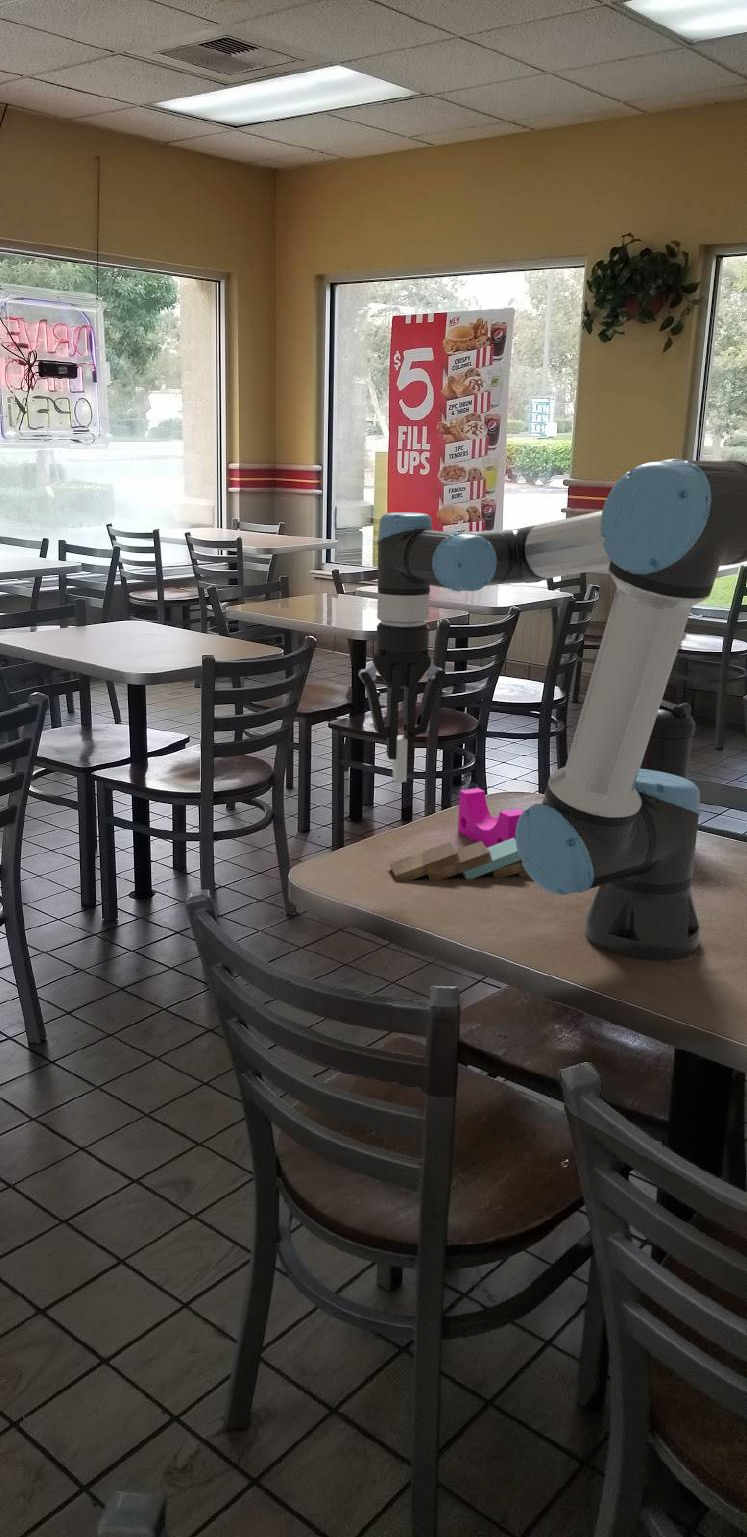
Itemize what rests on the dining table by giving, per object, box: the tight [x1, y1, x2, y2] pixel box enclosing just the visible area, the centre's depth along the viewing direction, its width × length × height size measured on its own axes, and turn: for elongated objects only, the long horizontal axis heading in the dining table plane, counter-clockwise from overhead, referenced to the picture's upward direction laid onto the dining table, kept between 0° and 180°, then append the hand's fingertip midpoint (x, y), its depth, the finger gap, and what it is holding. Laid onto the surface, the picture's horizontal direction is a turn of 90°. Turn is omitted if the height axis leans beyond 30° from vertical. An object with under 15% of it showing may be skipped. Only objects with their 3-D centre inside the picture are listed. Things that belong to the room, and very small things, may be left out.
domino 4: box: [489, 860, 526, 879], centre depth 188 cm, size 2×5×10 cm
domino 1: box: [389, 841, 460, 881], centre depth 185 cm, size 2×5×10 cm
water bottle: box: [640, 699, 696, 779], centre depth 206 cm, size 10×10×23 cm
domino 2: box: [426, 841, 492, 881], centre depth 185 cm, size 2×5×10 cm
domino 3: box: [460, 838, 521, 880], centre depth 187 cm, size 2×5×10 cm
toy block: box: [457, 787, 525, 848], centre depth 201 cm, size 15×6×8 cm, turn 28°
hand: (399, 779), depth 180 cm, fingers closed
